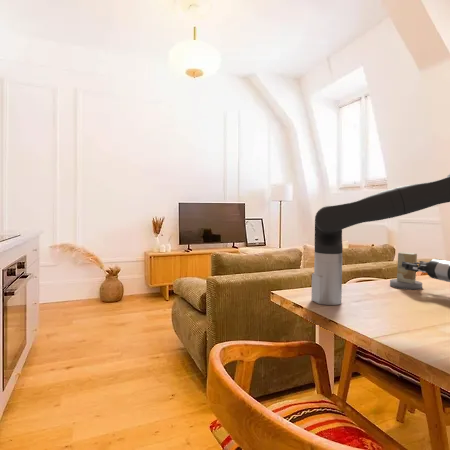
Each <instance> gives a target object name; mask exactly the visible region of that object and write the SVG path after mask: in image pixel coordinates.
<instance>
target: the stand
mask: <svg viewBox="0 0 450 450" xmlns="http://www.w3.org/2000/svg"><path fill="white" fill-rule="evenodd" d="M389 286H390V287H393V288H395V289H400V290H409V291H413V290H414V291H415V290H422V289H423V282H421V281H419V280H415V282H414V283H406V282H400V281H397V278H392V279H389Z"/></svg>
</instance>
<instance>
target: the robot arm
mask: <svg viewBox="0 0 450 450" xmlns="http://www.w3.org/2000/svg"><path fill="white" fill-rule="evenodd" d="M446 203H450V173H449V174H448V175H447V176H446V177H444V178H441V179H437V180H435V181H428V182H423V183H422V182H421V183H413V184H408V185H407V184H406V185H401V186H397V187H393V188H389V189H386V190H381V191H378V192H376V193H374V194H370V195H368V196H366V197H364V198H362V199H357V200H355V201H352V202H346V203H342V204H341V203H340V204H335V205H325V206H323V207H321V208H320V209H318V210H317V212H316V213H315V216H314V259H313V260H314V263H313V264H314V267H313V269H314V272H313V273H311V301H313V302H314V303H316V304H318V305H324V306H325V305H326V306H337V305H341V304H342V301H343V300H342V298H343V296H342V295H343V294H342V293H343V291H342V290H343V289H342V288H343V249H344V247H343V246H344V245H343V230H344V229H347V228H350V227H353V226H356V225H359V224H362V223H369V222H378V221H382V220H388V219H394V218H396V217H400V216H401V217H402V216H405V215H409V214H412V213H415V212H419V211H421V210H425V209H427V208H431V207H433V206H434V207H435V206H438V205H441V204H446ZM402 267H404V268H405V269H406V270H411V271H415V272H416V273H417V272H421V273H425V274H427V275H428V276H429V278H431V279H435V280H439V281H443V282H448V283H450V260H446V259H438V258H432V259H431V260H430V261H423V260H420V261H418V262H415V263H410V262H409V263H408V262H402Z"/></svg>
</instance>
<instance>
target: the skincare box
mask: <svg viewBox="0 0 450 450" xmlns="http://www.w3.org/2000/svg"><path fill="white" fill-rule="evenodd" d="M417 257H418V253H415V252H414V253H413V252H404V251H402V252H401V251H400V252H398V253H397V268H396V279H397V281H400V282H406V283H414V282H415V281H417V280H416V277H417V272H415V271H411V270H406V269H405V268H404V267H402V262H408V263H409V262H410V263H415V262H417V261H418V258H417Z"/></svg>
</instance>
